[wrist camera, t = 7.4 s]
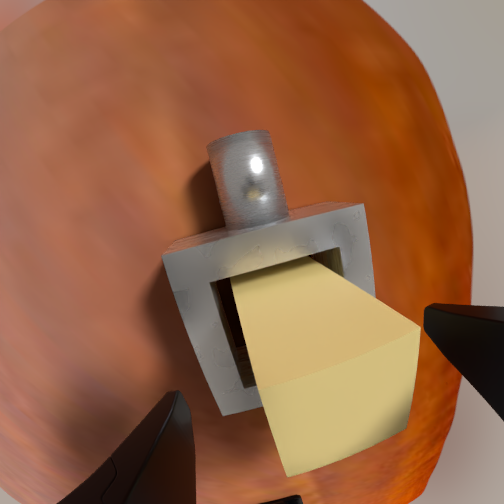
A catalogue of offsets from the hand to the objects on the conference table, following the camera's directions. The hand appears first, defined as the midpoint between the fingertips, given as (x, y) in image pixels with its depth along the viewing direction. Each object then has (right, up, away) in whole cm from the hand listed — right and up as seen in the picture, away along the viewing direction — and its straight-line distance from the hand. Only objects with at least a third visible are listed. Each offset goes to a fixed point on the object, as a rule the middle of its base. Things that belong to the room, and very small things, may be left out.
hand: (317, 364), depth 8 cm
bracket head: (-1, +1, +7) cm, 7 cm away
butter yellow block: (-1, +1, +7) cm, 7 cm away
